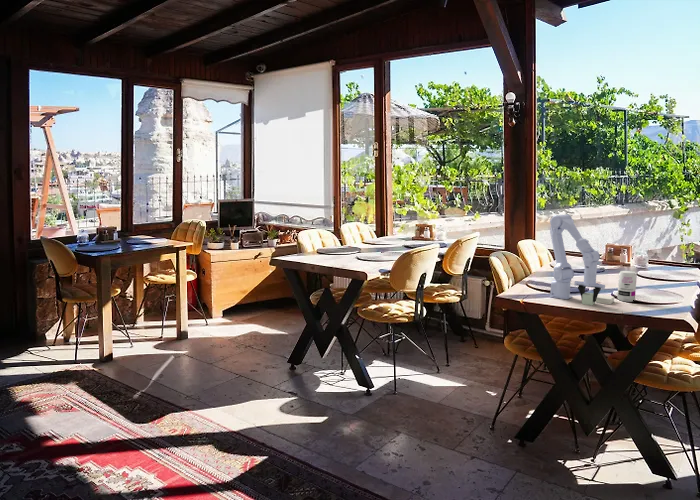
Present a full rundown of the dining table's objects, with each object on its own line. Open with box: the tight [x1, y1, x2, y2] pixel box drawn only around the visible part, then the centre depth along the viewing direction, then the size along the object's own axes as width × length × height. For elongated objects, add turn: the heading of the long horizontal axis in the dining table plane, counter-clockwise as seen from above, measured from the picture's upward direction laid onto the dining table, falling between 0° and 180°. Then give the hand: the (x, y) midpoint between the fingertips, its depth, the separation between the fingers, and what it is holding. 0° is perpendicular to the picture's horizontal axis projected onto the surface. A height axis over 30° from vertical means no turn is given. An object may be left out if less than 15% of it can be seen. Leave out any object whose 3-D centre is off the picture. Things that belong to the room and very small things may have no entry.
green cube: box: [581, 292, 596, 306], centre depth 292 cm, size 5×5×5 cm
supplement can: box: [616, 270, 638, 303], centre depth 297 cm, size 8×8×15 cm
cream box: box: [595, 294, 615, 305], centre depth 295 cm, size 7×7×3 cm
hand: (588, 300), depth 292 cm, fingers closed on green cube, 5 cm apart
